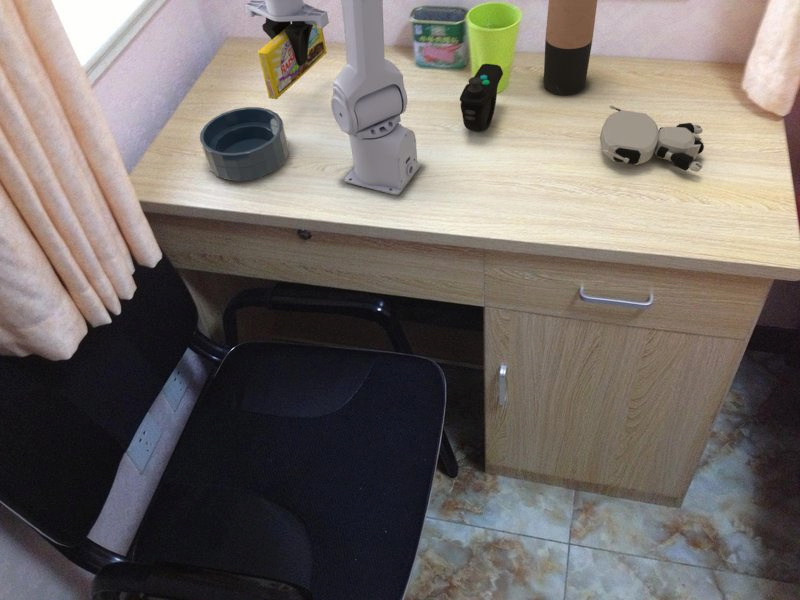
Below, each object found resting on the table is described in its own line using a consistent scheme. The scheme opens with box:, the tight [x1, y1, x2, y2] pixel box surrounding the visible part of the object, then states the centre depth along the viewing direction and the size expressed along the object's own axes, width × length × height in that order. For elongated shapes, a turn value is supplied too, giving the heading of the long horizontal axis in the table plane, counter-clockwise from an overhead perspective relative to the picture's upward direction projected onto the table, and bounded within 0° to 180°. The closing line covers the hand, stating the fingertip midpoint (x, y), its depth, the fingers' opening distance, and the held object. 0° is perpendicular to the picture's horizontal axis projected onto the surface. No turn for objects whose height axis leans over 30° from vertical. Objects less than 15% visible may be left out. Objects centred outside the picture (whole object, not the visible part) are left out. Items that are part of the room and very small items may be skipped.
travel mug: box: [543, 0, 598, 96], centre depth 113 cm, size 8×8×20 cm
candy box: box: [257, 23, 328, 100], centre depth 115 cm, size 16×2×8 cm, turn 153°
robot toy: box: [599, 104, 705, 173], centre depth 104 cm, size 12×4×15 cm
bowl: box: [199, 106, 290, 182], centre depth 111 cm, size 13×13×6 cm
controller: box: [459, 63, 504, 133], centre depth 111 cm, size 4×12×10 cm, turn 158°
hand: (296, 61), depth 116 cm, fingers closed on candy box, 2 cm apart
